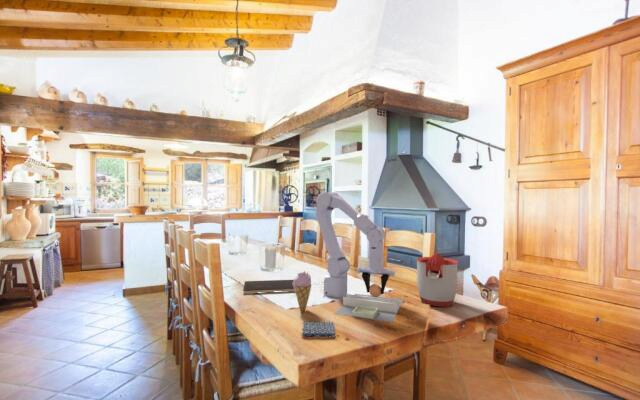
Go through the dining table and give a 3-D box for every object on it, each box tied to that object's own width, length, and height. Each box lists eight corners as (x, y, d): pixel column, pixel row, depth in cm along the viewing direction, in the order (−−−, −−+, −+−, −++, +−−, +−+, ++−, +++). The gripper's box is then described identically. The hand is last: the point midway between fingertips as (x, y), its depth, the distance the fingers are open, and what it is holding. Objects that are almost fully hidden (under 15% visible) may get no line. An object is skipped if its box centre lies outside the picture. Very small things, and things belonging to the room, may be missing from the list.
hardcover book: (297, 293, 141) (297, 288, 141) (243, 295, 137) (243, 290, 137) (293, 284, 157) (293, 279, 157) (244, 285, 153) (244, 280, 153)
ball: (367, 297, 125) (367, 284, 125) (370, 294, 130) (370, 281, 130) (380, 299, 124) (380, 286, 124) (382, 295, 128) (383, 283, 128)
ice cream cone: (296, 316, 111) (296, 273, 111) (289, 311, 117) (290, 269, 117) (313, 313, 115) (314, 271, 115) (306, 308, 120) (306, 268, 120)
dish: (351, 315, 110) (351, 311, 110) (357, 309, 117) (357, 305, 117) (373, 319, 107) (373, 314, 107) (378, 312, 114) (378, 308, 114)
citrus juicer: (411, 306, 124) (411, 254, 124) (420, 294, 139) (420, 248, 139) (455, 313, 116) (456, 257, 116) (459, 300, 132) (460, 251, 132)
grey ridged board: (334, 316, 112) (334, 304, 112) (355, 296, 136) (355, 286, 136) (392, 325, 104) (392, 313, 104) (403, 302, 129) (403, 292, 129)
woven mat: (334, 326, 105) (334, 320, 105) (336, 340, 94) (337, 333, 94) (302, 326, 104) (302, 320, 104) (300, 340, 94) (301, 333, 94)
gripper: (355, 258, 126) (354, 292, 126) (392, 261, 120) (392, 297, 120) (359, 255, 132) (359, 288, 132) (395, 258, 127) (395, 292, 127)
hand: (375, 292), depth 127 cm, fingers closed on ball, 5 cm apart
